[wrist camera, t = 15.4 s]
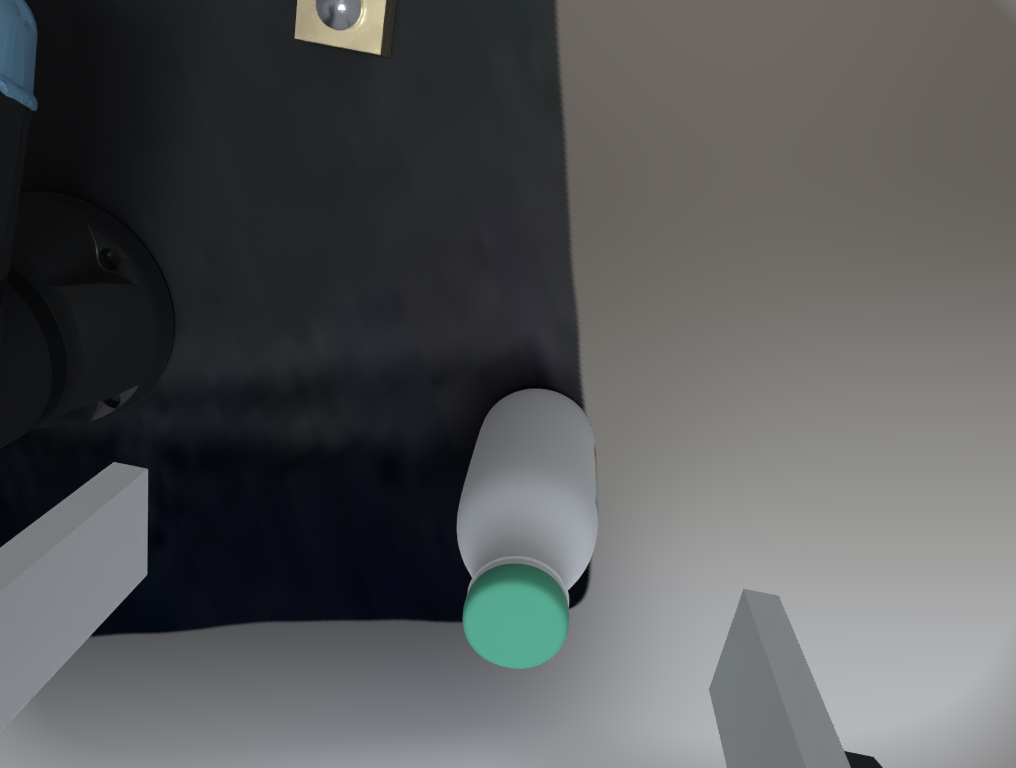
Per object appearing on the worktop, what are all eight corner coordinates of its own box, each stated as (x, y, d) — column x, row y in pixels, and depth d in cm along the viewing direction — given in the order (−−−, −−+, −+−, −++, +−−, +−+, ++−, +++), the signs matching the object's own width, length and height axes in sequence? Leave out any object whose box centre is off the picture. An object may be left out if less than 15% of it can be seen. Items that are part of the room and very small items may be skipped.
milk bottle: (458, 421, 51) (389, 602, 32) (554, 363, 49) (540, 519, 30) (521, 508, 53) (490, 726, 34) (616, 455, 51) (640, 656, 32)
